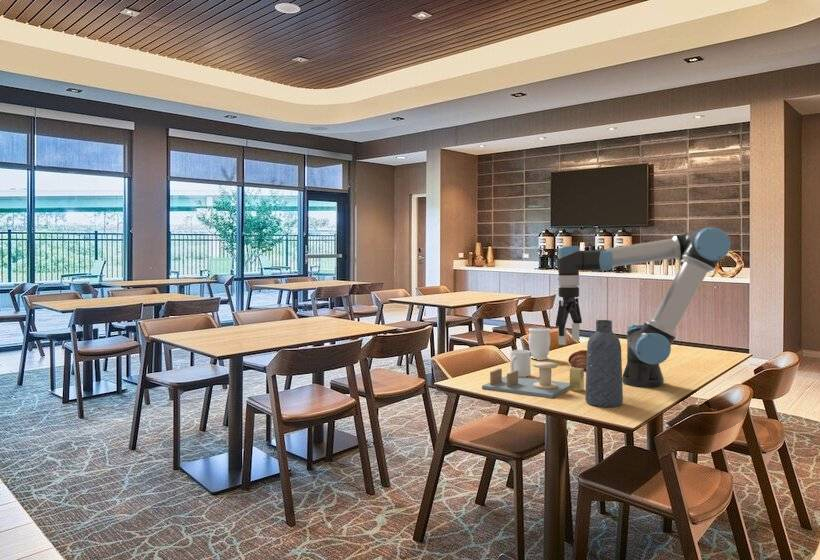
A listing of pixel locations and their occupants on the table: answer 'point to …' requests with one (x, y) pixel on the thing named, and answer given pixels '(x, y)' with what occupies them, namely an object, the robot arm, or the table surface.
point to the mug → (520, 362)
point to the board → (528, 382)
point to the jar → (539, 342)
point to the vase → (604, 367)
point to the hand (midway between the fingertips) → (569, 342)
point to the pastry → (578, 359)
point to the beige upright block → (577, 379)
